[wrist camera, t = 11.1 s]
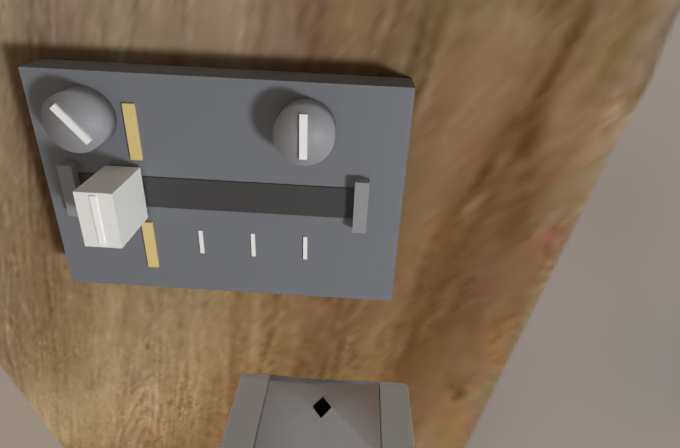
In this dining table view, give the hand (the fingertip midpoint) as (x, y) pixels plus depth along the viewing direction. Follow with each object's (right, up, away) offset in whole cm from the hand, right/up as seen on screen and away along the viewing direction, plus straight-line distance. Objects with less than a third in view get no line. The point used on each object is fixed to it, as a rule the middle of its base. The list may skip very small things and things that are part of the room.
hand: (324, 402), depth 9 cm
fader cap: (-15, +6, +27) cm, 32 cm away
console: (-8, +7, +30) cm, 32 cm away
